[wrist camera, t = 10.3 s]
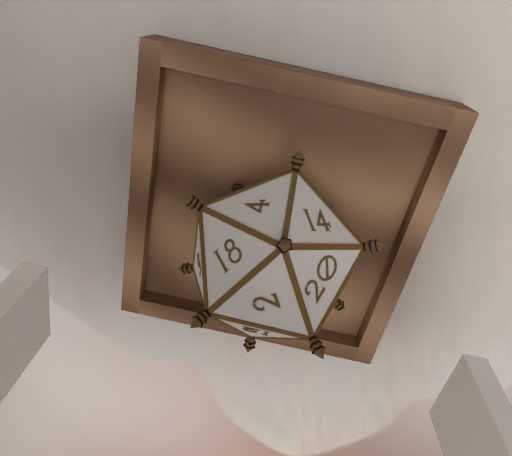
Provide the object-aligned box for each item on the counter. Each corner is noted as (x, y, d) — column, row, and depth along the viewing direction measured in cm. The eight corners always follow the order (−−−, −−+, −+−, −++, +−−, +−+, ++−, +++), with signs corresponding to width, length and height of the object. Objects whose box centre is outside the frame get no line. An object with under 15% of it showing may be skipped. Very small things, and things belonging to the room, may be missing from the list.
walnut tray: (155, 34, 21) (139, 37, 19) (462, 103, 21) (479, 113, 19) (134, 288, 28) (121, 309, 26) (364, 338, 28) (369, 364, 26)
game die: (273, 161, 26) (301, 74, 16) (371, 272, 25) (465, 253, 15) (153, 260, 24) (100, 233, 14) (253, 380, 23) (269, 438, 14)
